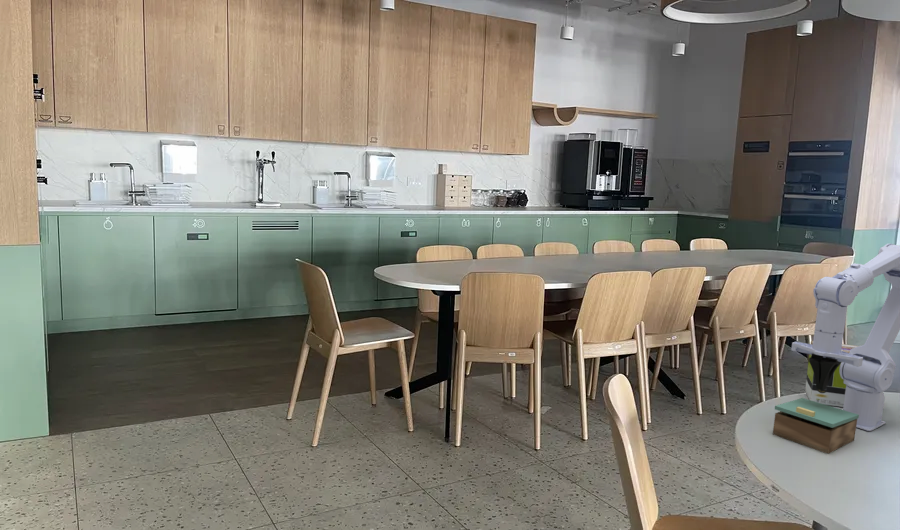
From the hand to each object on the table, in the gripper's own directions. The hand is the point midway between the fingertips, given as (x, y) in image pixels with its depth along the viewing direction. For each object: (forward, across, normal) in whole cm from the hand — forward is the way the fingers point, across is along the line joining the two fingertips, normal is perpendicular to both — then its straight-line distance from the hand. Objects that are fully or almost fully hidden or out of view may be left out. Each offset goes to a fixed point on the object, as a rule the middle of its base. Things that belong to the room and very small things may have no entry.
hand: (821, 388), depth 155 cm
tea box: (+11, -6, +27) cm, 30 cm away
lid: (+5, +1, -4) cm, 6 cm away
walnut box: (+10, +1, -4) cm, 11 cm away
